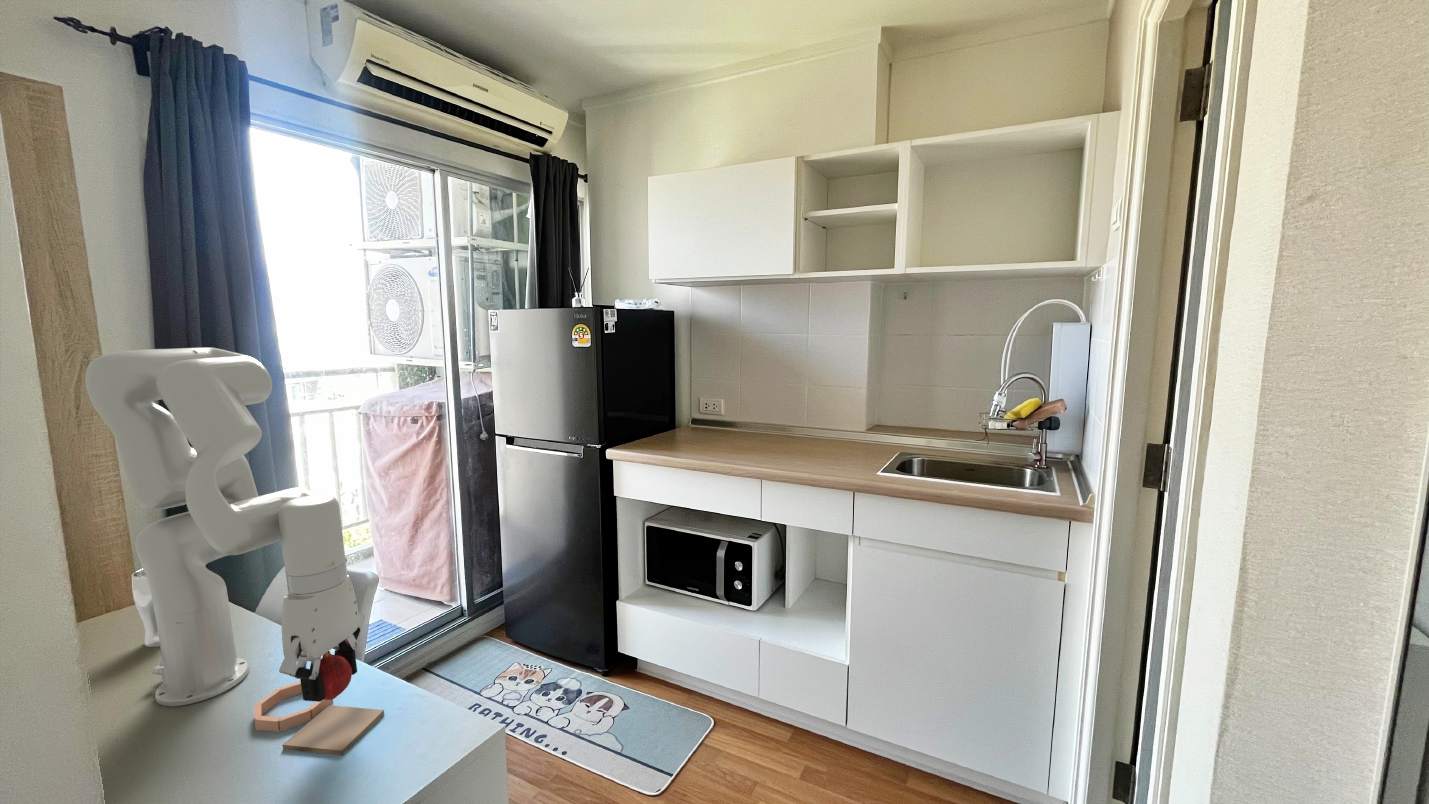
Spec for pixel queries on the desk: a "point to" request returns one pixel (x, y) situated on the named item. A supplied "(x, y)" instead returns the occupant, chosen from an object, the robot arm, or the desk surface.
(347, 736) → the board
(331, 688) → the onion
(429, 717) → the desk surface
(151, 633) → the beer glass
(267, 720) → the ring holder
